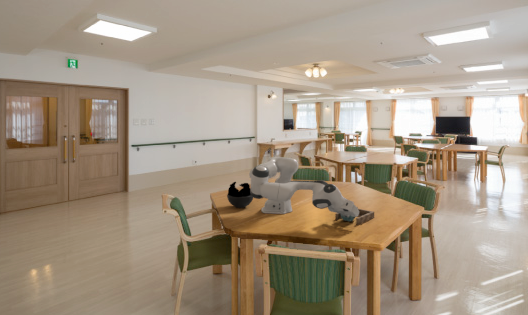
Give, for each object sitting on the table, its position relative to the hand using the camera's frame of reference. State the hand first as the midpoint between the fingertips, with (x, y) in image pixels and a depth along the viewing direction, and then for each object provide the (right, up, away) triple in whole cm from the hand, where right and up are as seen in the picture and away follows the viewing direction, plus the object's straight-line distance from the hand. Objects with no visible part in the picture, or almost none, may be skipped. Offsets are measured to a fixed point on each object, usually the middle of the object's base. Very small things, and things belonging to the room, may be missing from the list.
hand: (347, 216), depth 207 cm
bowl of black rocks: (-70, -1, +39) cm, 81 cm away
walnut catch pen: (+7, -3, +9) cm, 12 cm away
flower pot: (+2, -4, +4) cm, 6 cm away
